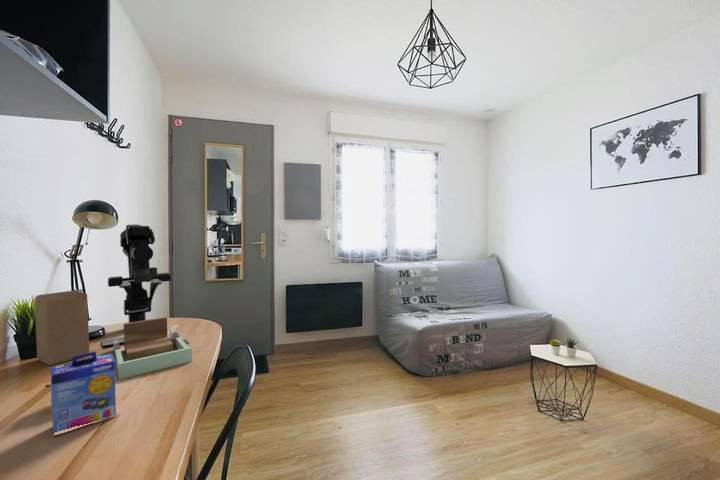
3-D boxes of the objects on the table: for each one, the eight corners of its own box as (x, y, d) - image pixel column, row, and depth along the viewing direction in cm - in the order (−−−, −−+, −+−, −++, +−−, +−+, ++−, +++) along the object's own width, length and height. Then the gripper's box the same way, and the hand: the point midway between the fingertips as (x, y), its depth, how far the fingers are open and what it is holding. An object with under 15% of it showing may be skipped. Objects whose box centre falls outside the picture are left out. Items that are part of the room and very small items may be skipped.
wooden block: (90, 355, 101) (88, 292, 100) (48, 367, 92) (45, 298, 91) (77, 349, 106) (75, 289, 105) (36, 360, 97) (33, 295, 97)
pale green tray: (102, 351, 103) (101, 339, 103) (182, 336, 118) (182, 325, 118) (104, 382, 82) (104, 367, 82) (203, 358, 97) (202, 345, 97)
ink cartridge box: (52, 439, 60) (49, 362, 59) (52, 426, 64) (49, 354, 63) (118, 417, 67) (115, 348, 66) (114, 406, 71) (112, 342, 70)
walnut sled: (124, 350, 105) (123, 323, 105) (166, 342, 113) (165, 316, 112) (127, 361, 96) (126, 332, 95) (173, 351, 103) (172, 324, 103)
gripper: (108, 263, 104) (110, 311, 104) (173, 259, 116) (174, 302, 117) (107, 261, 113) (108, 305, 113) (167, 258, 125) (169, 297, 125)
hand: (141, 302), depth 117 cm, fingers open, 5 cm apart
